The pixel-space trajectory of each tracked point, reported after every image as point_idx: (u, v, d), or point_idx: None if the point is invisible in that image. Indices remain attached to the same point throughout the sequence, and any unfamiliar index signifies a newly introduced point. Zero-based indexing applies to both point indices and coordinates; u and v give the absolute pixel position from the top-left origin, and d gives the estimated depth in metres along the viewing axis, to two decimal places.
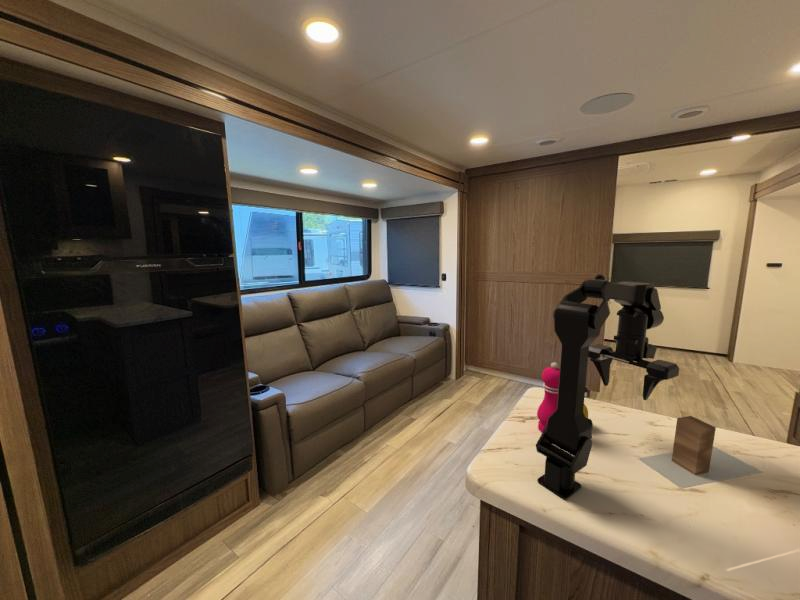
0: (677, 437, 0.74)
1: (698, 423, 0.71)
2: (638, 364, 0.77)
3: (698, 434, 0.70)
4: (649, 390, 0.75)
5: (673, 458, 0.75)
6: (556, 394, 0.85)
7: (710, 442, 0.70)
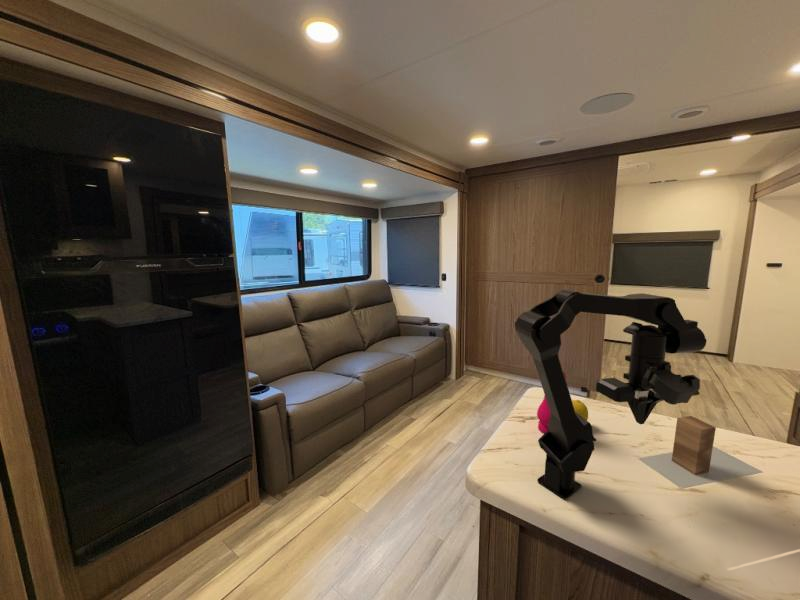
0: (677, 437, 0.74)
1: (698, 423, 0.71)
2: None
3: (698, 434, 0.70)
4: (632, 408, 0.69)
5: (673, 458, 0.75)
6: None
7: (710, 442, 0.70)
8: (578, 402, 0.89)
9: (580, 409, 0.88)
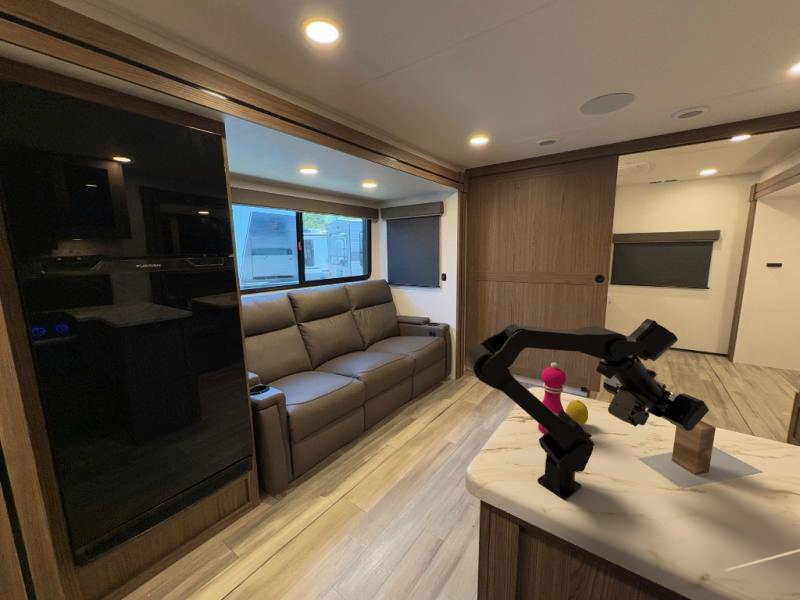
0: (677, 437, 0.74)
1: (698, 423, 0.71)
2: None
3: (698, 434, 0.70)
4: None
5: (673, 458, 0.75)
6: (556, 394, 0.85)
7: (710, 442, 0.70)
8: (578, 402, 0.89)
9: (580, 409, 0.88)
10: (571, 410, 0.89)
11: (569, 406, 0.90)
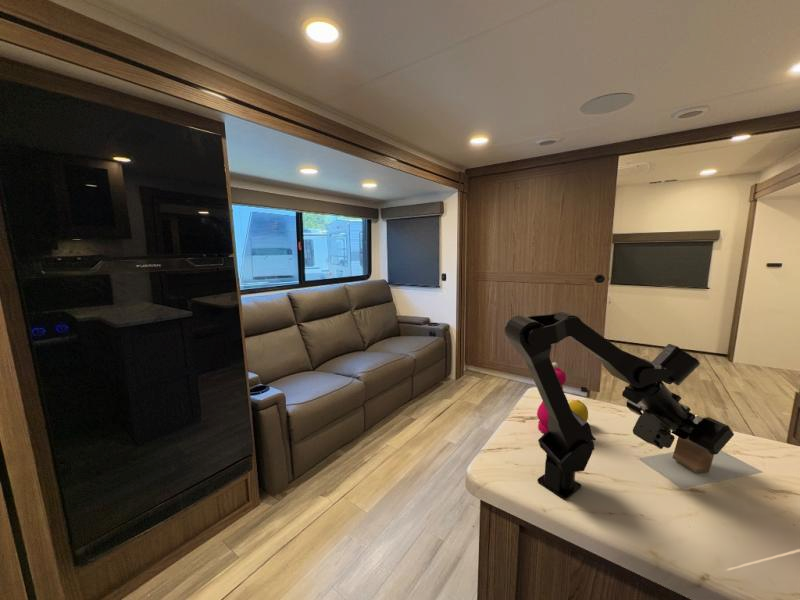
0: None
1: None
2: None
3: None
4: None
5: (674, 455, 0.75)
6: None
7: None
8: (578, 402, 0.89)
9: (580, 409, 0.88)
10: None
11: None
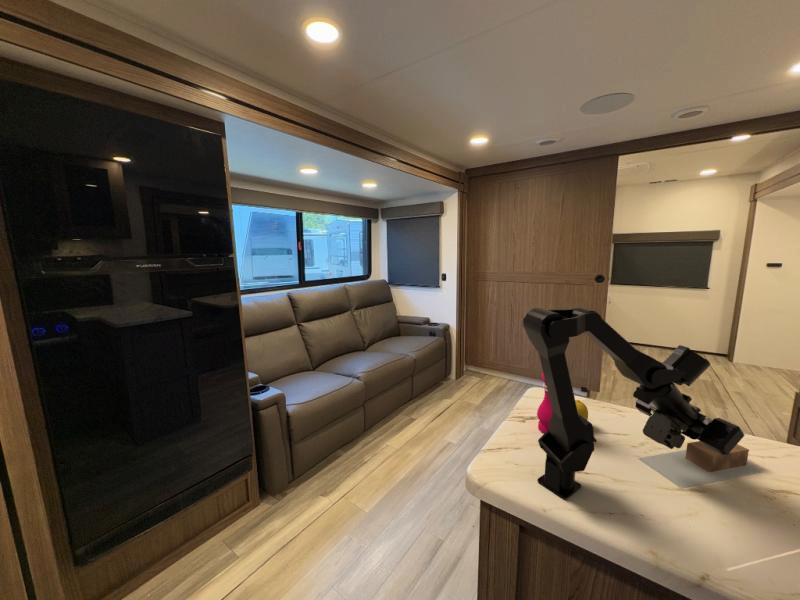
0: None
1: None
2: None
3: (742, 449, 0.73)
4: None
5: (691, 443, 0.76)
6: None
7: (735, 464, 0.73)
8: (578, 402, 0.89)
9: (580, 409, 0.88)
10: None
11: None
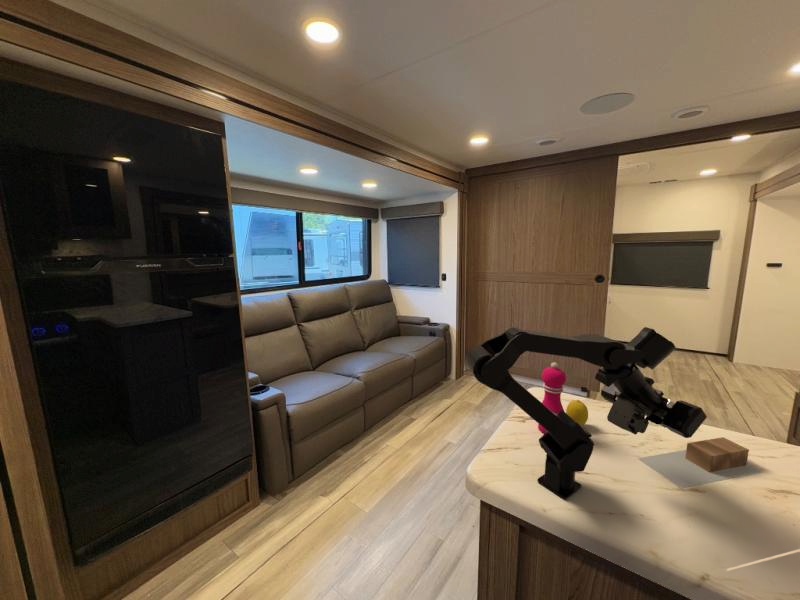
0: (711, 441, 0.76)
1: None
2: None
3: (742, 449, 0.73)
4: None
5: (691, 443, 0.76)
6: (556, 394, 0.85)
7: (735, 464, 0.73)
8: (578, 402, 0.89)
9: (580, 409, 0.88)
10: (571, 410, 0.89)
11: (569, 406, 0.90)
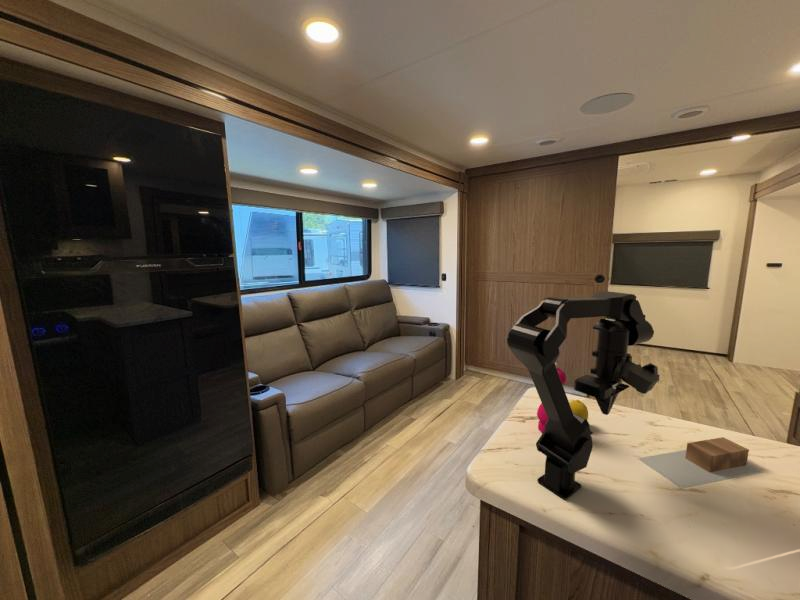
0: (711, 441, 0.76)
1: None
2: None
3: (742, 449, 0.73)
4: (599, 401, 0.72)
5: (691, 443, 0.76)
6: None
7: (735, 464, 0.73)
8: (578, 402, 0.89)
9: (580, 409, 0.88)
10: None
11: None
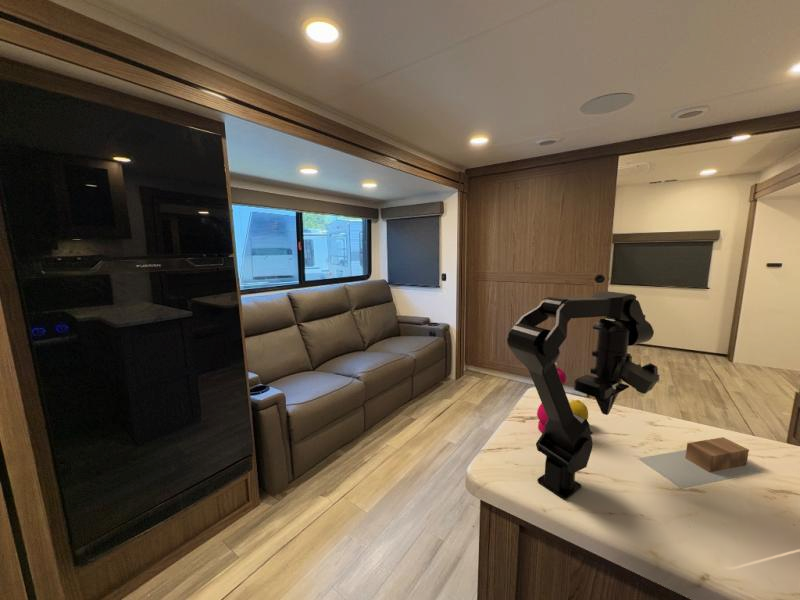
0: (711, 441, 0.76)
1: None
2: None
3: (742, 449, 0.73)
4: (598, 401, 0.72)
5: (691, 443, 0.76)
6: None
7: (735, 464, 0.73)
8: (578, 402, 0.89)
9: (580, 409, 0.88)
10: None
11: None
